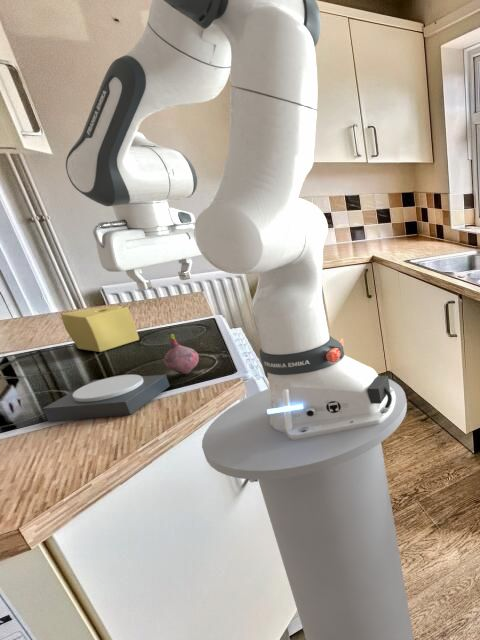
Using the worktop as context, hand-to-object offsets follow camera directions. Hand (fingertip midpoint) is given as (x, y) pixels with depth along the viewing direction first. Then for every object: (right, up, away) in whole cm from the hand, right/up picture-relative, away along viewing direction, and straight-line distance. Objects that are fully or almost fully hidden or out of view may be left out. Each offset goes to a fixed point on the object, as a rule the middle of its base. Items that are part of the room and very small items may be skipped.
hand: (167, 284), depth 91 cm
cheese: (-37, -14, +25) cm, 47 cm away
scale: (-5, -25, -7) cm, 26 cm away
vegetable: (0, -20, +5) cm, 21 cm away
